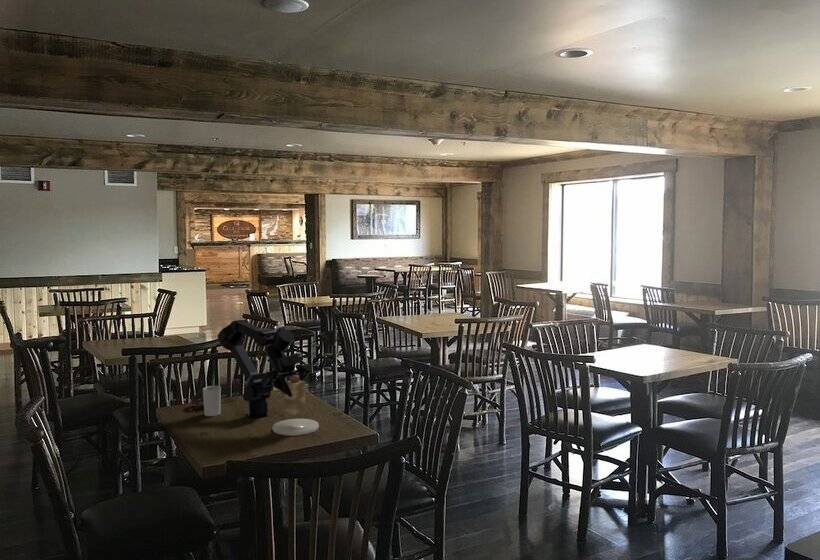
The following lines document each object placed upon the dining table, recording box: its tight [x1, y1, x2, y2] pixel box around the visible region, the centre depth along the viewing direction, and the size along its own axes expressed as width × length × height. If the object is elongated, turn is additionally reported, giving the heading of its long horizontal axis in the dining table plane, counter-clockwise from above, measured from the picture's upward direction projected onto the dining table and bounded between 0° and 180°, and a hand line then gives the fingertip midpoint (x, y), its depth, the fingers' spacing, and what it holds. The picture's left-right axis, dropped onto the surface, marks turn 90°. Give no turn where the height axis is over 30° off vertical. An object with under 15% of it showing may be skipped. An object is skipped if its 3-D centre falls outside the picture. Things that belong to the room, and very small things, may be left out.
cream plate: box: [272, 418, 320, 437], centre depth 225 cm, size 16×16×1 cm
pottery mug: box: [190, 389, 203, 406], centre depth 255 cm, size 12×10×8 cm
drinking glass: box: [202, 385, 222, 417], centre depth 243 cm, size 7×7×10 cm
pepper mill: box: [284, 375, 306, 416], centre depth 225 cm, size 5×5×13 cm
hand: (297, 394), depth 224 cm, fingers closed on pepper mill, 5 cm apart
